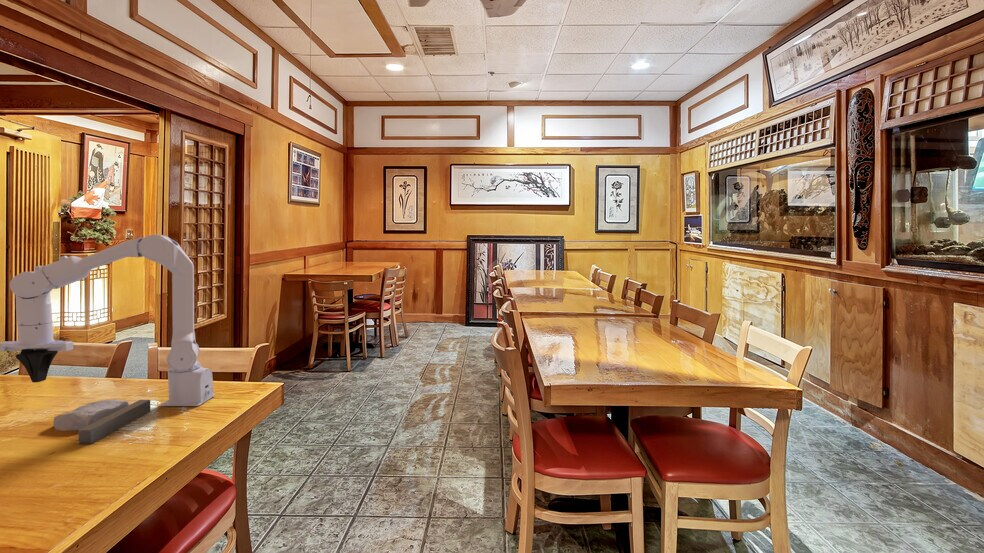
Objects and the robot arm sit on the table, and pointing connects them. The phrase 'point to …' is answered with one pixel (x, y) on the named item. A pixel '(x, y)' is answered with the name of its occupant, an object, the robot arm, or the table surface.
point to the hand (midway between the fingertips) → (39, 381)
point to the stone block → (87, 414)
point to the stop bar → (113, 422)
